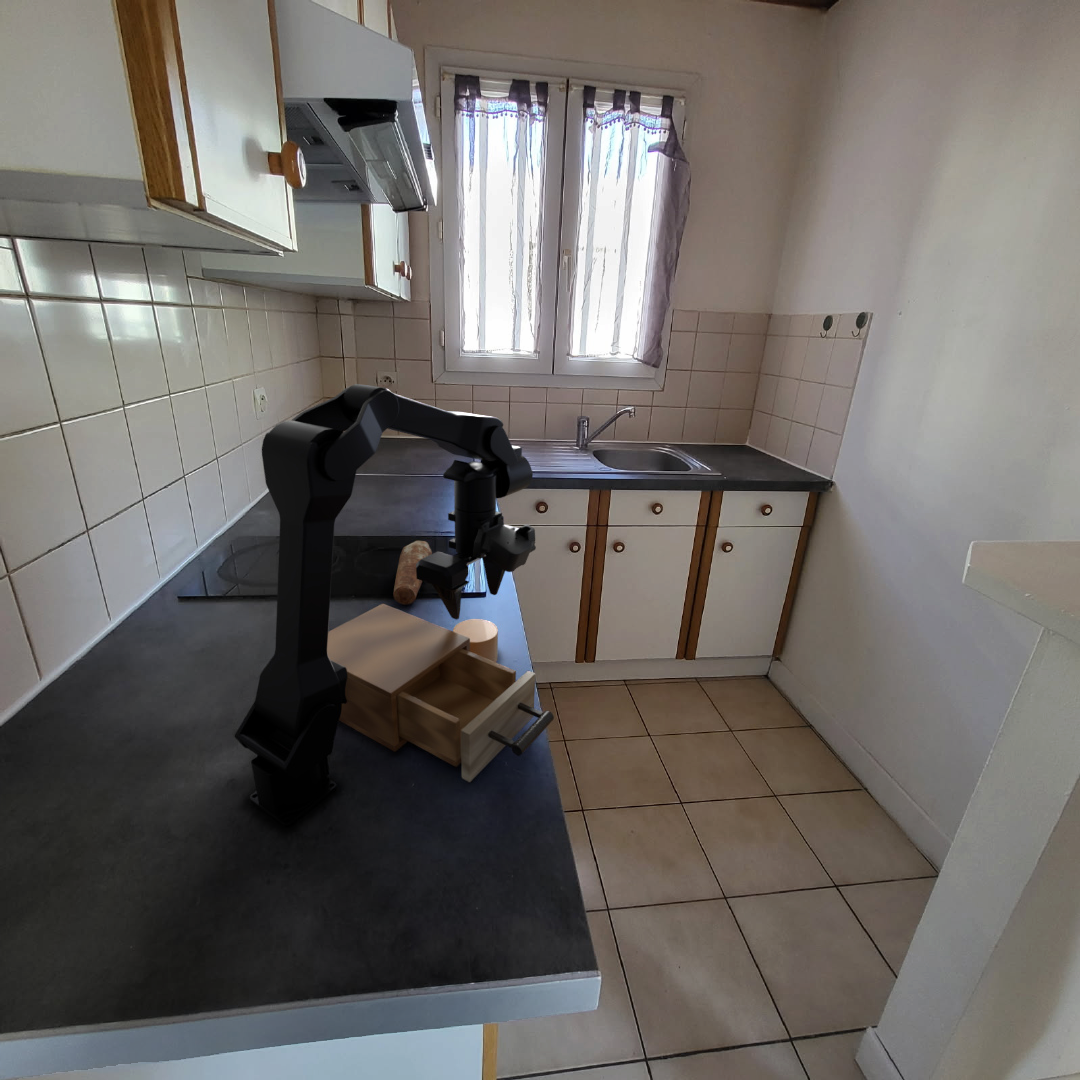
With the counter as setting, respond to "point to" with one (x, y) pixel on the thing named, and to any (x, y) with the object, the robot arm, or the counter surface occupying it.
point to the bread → (409, 572)
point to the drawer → (470, 711)
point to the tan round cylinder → (480, 637)
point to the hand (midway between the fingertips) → (475, 605)
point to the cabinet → (386, 665)
